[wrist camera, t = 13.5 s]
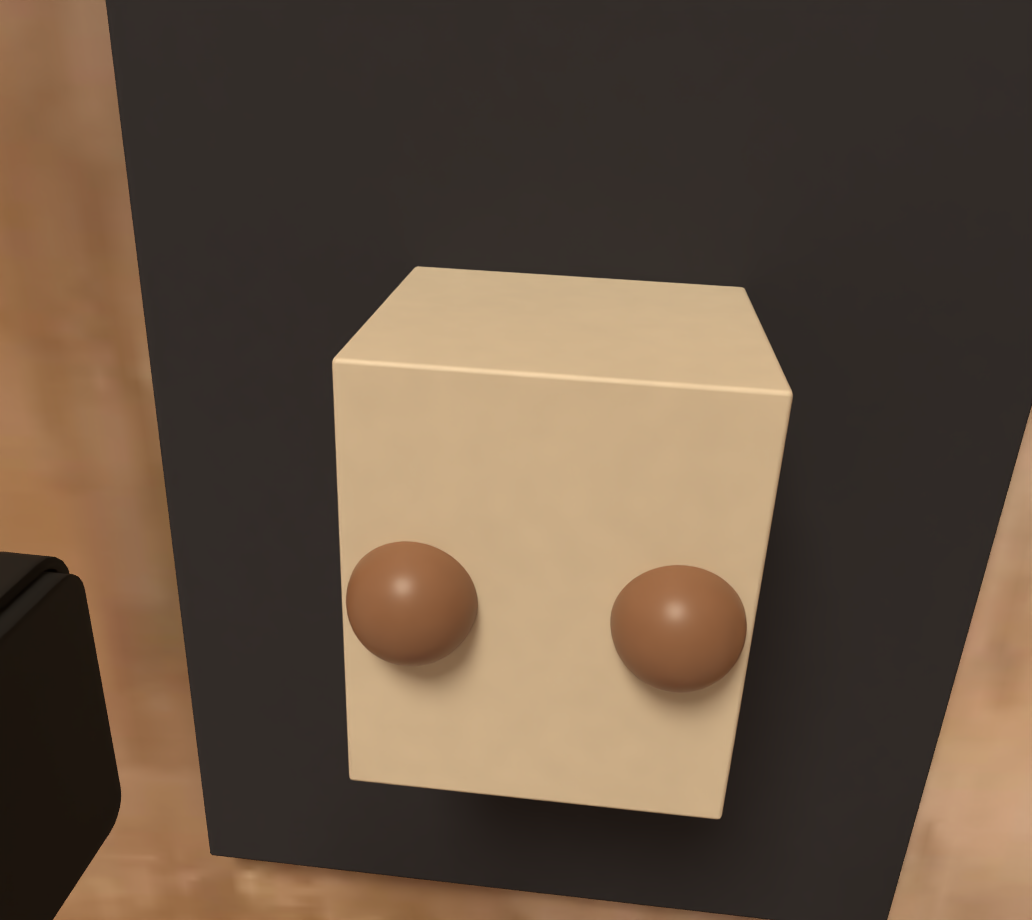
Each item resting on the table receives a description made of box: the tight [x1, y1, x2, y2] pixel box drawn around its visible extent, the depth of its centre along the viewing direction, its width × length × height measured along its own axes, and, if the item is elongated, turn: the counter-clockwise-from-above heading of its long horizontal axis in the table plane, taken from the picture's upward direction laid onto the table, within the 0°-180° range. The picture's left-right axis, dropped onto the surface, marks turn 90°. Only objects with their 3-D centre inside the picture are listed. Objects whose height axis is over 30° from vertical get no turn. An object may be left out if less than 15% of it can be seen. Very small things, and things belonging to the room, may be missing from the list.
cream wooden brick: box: [332, 266, 793, 819], centre depth 13 cm, size 6×5×5 cm
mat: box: [106, 0, 1032, 920], centre depth 16 cm, size 20×14×1 cm
